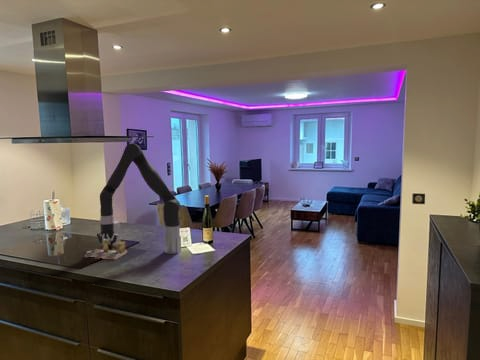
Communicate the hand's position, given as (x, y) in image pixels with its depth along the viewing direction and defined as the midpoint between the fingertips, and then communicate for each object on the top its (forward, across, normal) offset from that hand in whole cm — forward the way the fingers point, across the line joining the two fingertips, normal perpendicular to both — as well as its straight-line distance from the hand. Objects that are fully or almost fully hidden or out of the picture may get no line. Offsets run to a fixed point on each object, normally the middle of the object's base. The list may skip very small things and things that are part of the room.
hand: (107, 249), depth 194 cm
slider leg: (+1, 0, +2) cm, 2 cm away
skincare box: (+3, +7, -16) cm, 18 cm away
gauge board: (+3, 0, +2) cm, 3 cm away
